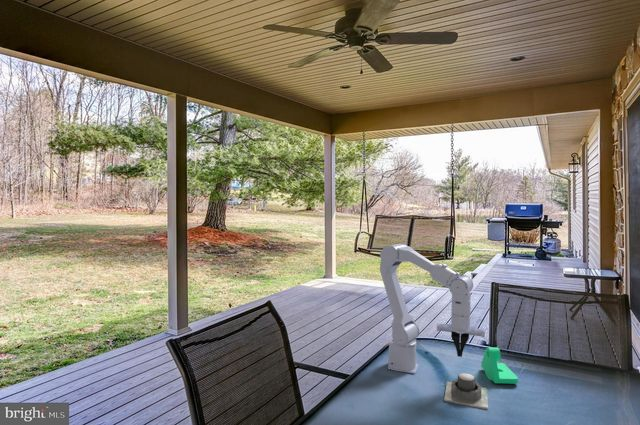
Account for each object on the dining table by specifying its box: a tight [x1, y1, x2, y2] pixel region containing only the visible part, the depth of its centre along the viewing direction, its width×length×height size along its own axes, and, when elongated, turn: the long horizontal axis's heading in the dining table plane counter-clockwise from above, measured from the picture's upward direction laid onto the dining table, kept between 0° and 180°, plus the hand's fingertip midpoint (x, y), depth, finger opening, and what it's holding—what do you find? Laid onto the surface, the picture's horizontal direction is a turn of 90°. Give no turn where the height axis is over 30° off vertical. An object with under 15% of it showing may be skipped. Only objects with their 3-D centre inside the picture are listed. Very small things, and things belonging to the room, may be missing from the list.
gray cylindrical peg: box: [457, 372, 476, 391], centre depth 118 cm, size 5×5×5 cm
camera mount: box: [481, 346, 519, 385], centre depth 130 cm, size 12×8×10 cm, turn 177°
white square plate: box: [443, 378, 489, 410], centre depth 118 cm, size 12×12×3 cm
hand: (459, 355), depth 125 cm, fingers closed
